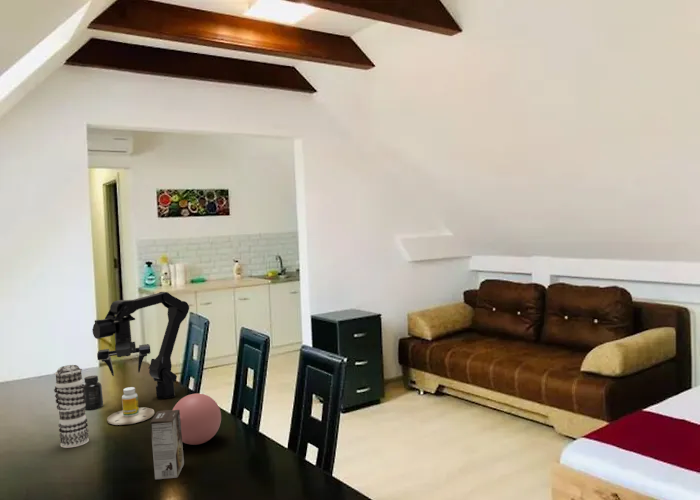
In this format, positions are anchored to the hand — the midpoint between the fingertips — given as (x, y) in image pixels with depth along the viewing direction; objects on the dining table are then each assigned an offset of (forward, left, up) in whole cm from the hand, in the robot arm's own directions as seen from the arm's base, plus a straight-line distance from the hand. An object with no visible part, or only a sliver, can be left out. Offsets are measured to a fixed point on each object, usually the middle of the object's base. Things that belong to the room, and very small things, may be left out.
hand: (126, 374), depth 227 cm
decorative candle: (+16, +31, -13) cm, 37 cm away
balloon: (-19, +52, -13) cm, 57 cm away
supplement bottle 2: (-1, +14, -12) cm, 18 cm away
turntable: (-1, +14, -13) cm, 19 cm away
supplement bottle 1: (+13, -8, -13) cm, 20 cm away
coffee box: (-12, +70, -13) cm, 72 cm away
